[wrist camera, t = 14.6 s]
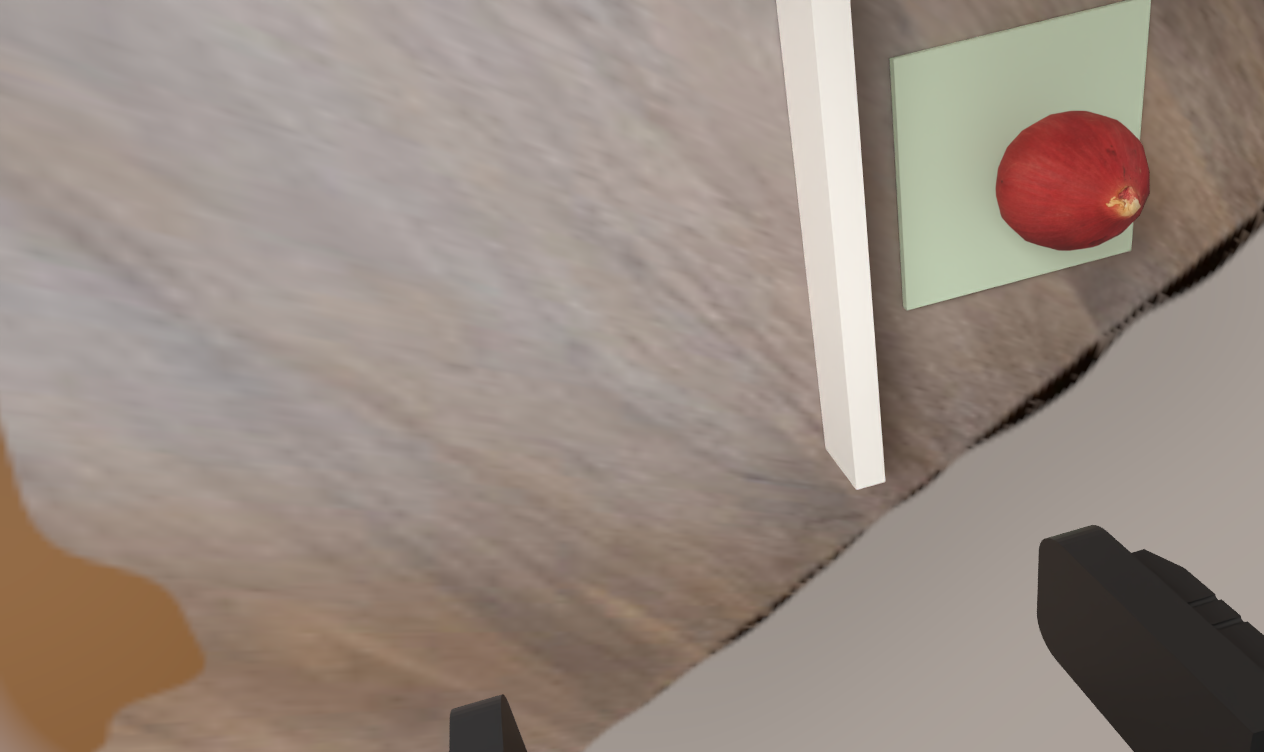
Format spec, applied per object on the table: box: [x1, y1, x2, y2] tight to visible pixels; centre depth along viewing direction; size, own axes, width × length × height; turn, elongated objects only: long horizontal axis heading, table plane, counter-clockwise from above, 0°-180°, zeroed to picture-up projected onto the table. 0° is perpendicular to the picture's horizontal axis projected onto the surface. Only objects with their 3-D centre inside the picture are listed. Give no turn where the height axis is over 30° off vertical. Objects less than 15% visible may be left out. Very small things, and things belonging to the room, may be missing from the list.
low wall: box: [776, 0, 885, 490], centre depth 38 cm, size 26×2×4 cm, turn 11°
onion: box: [995, 111, 1150, 251], centre depth 37 cm, size 6×6×8 cm
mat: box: [890, 0, 1151, 310], centre depth 40 cm, size 12×12×1 cm
